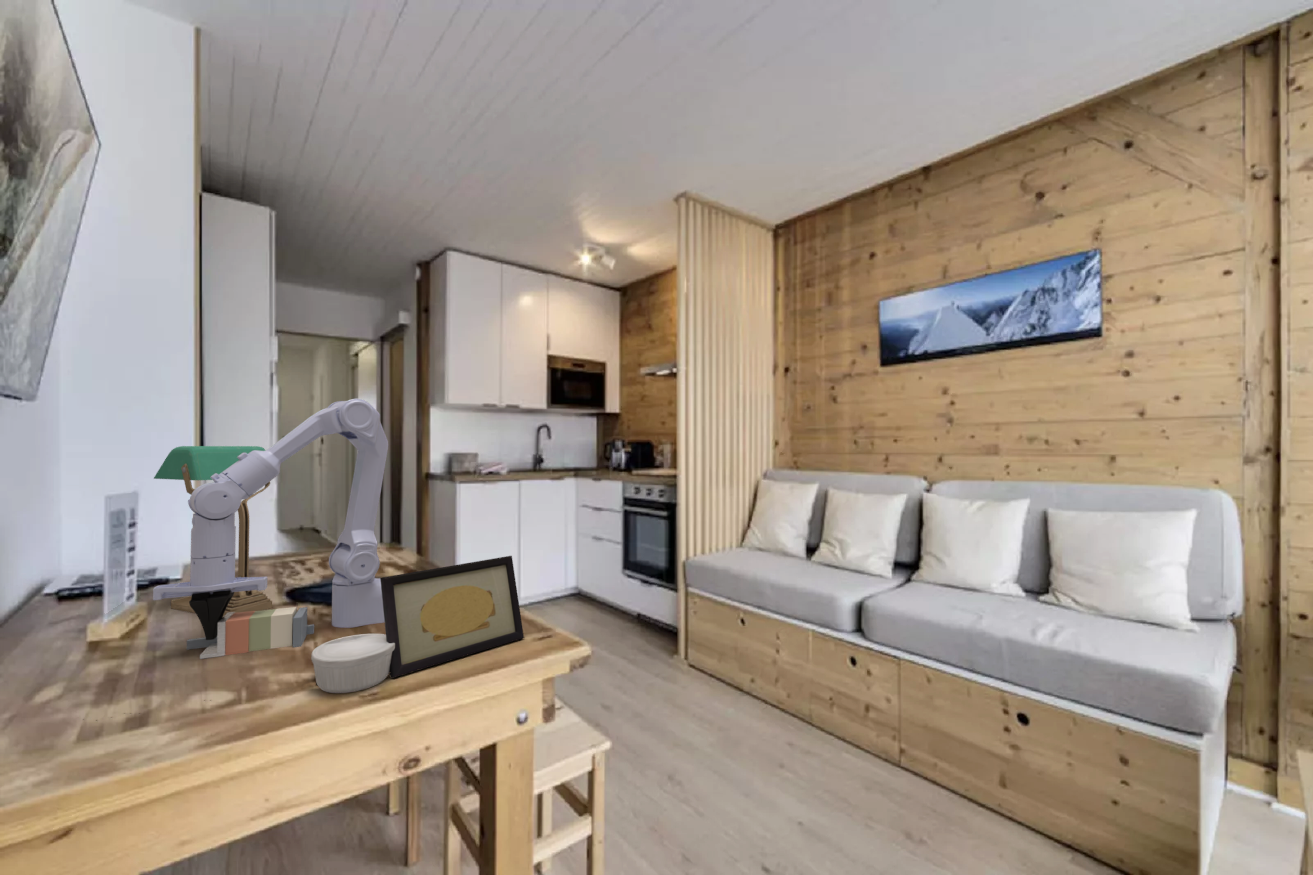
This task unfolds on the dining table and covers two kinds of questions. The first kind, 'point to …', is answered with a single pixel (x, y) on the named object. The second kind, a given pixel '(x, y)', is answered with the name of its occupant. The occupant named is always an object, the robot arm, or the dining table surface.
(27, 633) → the dining table surface
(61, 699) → the dining table surface
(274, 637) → the cream book
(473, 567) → the picture frame
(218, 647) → the bookend
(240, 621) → the rust book
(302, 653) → the dining table surface
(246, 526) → the banker's lamp
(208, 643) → the shelf
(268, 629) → the olive block
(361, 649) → the ramekin
